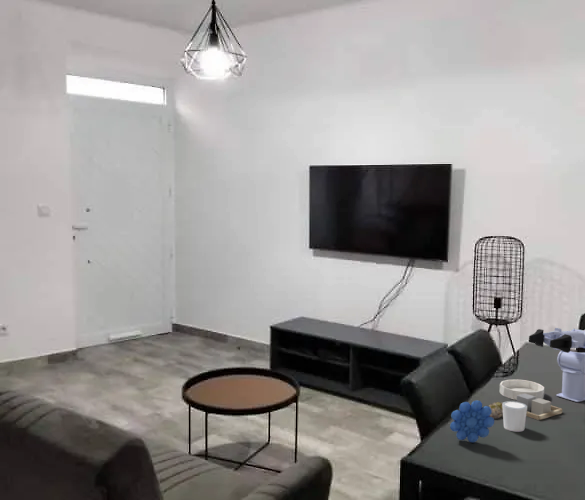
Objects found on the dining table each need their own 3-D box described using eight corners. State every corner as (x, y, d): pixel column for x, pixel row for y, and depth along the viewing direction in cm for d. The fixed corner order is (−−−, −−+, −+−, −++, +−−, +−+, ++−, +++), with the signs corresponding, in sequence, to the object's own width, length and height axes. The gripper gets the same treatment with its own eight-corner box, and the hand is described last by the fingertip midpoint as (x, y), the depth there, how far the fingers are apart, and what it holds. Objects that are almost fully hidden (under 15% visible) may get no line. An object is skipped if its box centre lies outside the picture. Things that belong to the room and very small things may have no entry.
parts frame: (529, 401, 196) (529, 398, 196) (562, 412, 185) (563, 409, 185) (505, 408, 189) (505, 404, 189) (538, 420, 179) (538, 416, 179)
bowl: (517, 385, 213) (517, 377, 213) (552, 396, 201) (552, 387, 201) (491, 392, 206) (491, 383, 206) (526, 403, 194) (526, 394, 194)
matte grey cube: (524, 405, 193) (524, 393, 192) (535, 408, 189) (535, 396, 189) (516, 407, 191) (516, 395, 190) (527, 411, 187) (527, 398, 187)
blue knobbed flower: (494, 439, 165) (495, 397, 164) (493, 448, 158) (494, 405, 158) (451, 433, 169) (452, 392, 168) (448, 442, 162) (449, 400, 162)
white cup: (526, 425, 175) (526, 402, 175) (527, 433, 169) (527, 409, 168) (501, 422, 177) (502, 399, 177) (501, 430, 171) (502, 407, 170)
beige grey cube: (539, 410, 188) (539, 398, 188) (550, 414, 185) (550, 401, 184) (531, 412, 186) (531, 400, 186) (542, 416, 183) (542, 404, 182)
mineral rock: (486, 399, 192) (510, 397, 187) (489, 412, 192) (513, 411, 187) (474, 410, 183) (499, 408, 178) (478, 423, 183) (503, 422, 178)
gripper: (547, 324, 202) (521, 325, 194) (587, 331, 189) (562, 333, 182) (545, 344, 202) (520, 346, 195) (585, 353, 189) (560, 355, 182)
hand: (540, 341), depth 188 cm, fingers open, 7 cm apart
